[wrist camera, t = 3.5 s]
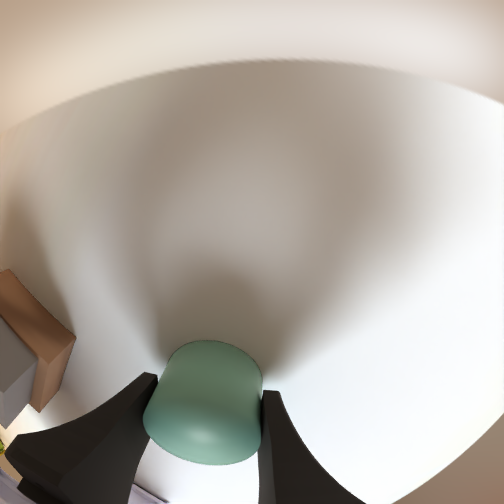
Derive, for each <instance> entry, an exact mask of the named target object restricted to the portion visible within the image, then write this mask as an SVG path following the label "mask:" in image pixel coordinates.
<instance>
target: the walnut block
mask: <svg viewBox="0 0 504 504" xmlns="http://www.w3.org/2000/svg"><path fill="white" fill-rule="evenodd" d="M0 317H1V318H2V319H3V320H4V322H5V323H6V324H7V325H8V326H9V328H10V329H11V330H12V331H13V332H14V333H15V334H16V336H17V337H18V338H19V339H20V340H21V341H22V342H23V343H24V344H25V345H26V347H27V348H28V349H29V350H30V351H31V352H32V353H33V354H34V355H35V356H36V357H37V358H38V359H39V360H38V364H37V368H36V373H35V378H34V383H33V389H32V394H31V401H30V402H29V404H30V405H31V406H32V407H33V408H34V409H35V410H36V411H37V412H38V413H40V412H41V410H42V409H43V408H44V407H45V406H46V404H47V403H48V402H49V401H50V399H51V398H52V397H53V396H54V395H55V394H56V392H57V391H58V390H59V388H60V384H61V381H62V378H63V375H64V372H65V369H66V365H67V363H68V360H69V357H70V354H71V351H72V348H73V345H74V343H75V340H76V337H75V336H74V335H73V334H72V333H71V332H70V331H68V330H67V329H66V328H65V327H64V326H63V325H62V324H61V323H60V322H59V321H58V320H56V319H55V318H54V317H53V316H52V315H51V314H50V313H49V312H48V311H47V310H46V309H45V308H44V307H43V306H42V305H41V304H40V303H39V302H38V301H37V300H36V299H35V298H34V297H33V296H32V294H31V293H30V292H29V291H28V290H27V289H26V288H25V287H24V286H23V285H22V284H21V282H20V281H19V280H18V279H17V278H16V277H15V276H14V274H13V273H12V272H11V271H10V270H9V269H7V270H5V271H3V272H1V273H0Z"/></svg>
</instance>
